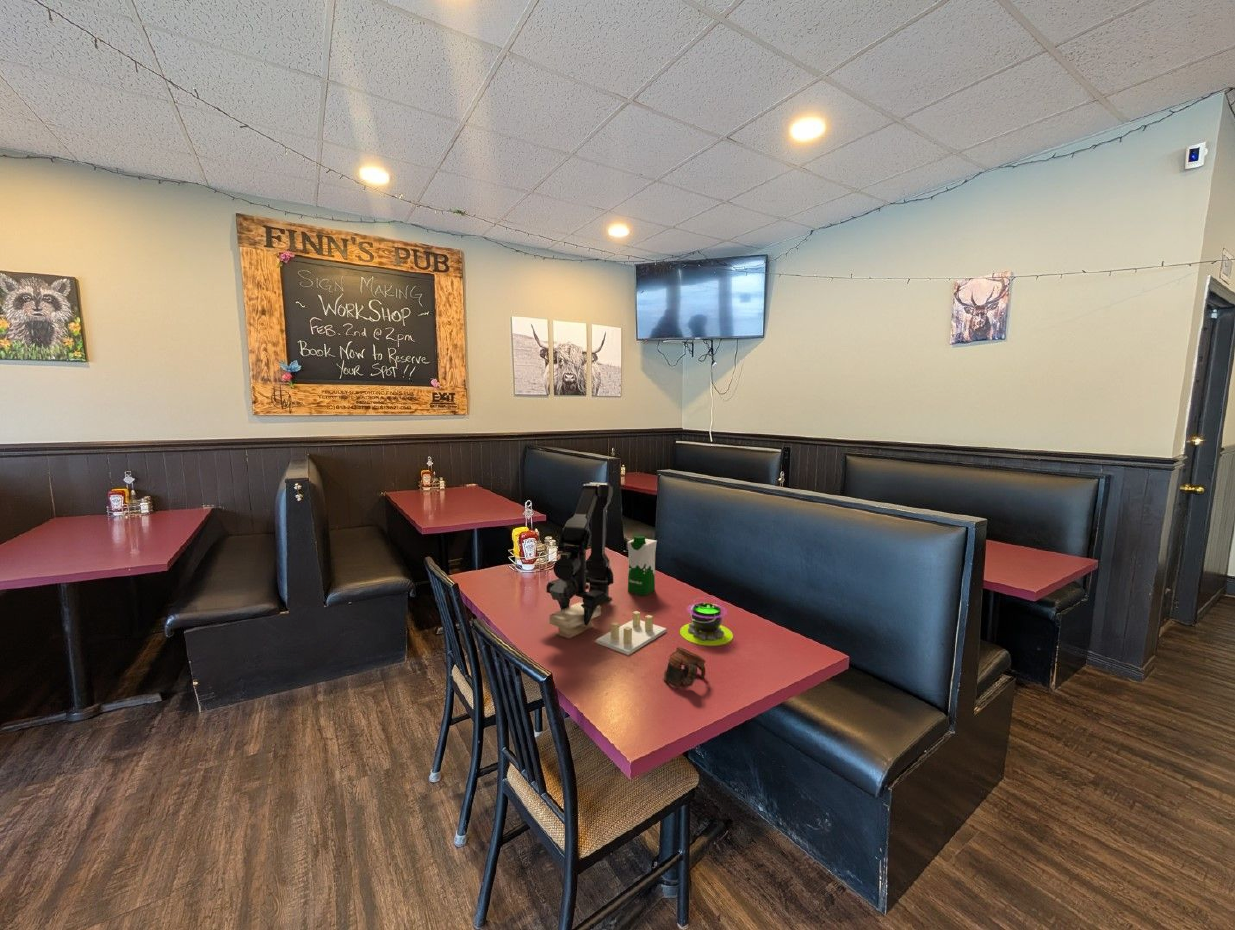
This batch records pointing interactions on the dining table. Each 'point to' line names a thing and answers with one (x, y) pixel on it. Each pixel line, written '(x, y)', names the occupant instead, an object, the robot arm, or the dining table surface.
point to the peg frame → (631, 634)
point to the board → (571, 616)
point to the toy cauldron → (706, 625)
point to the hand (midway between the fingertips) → (575, 621)
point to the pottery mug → (690, 668)
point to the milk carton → (641, 565)
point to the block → (574, 630)
